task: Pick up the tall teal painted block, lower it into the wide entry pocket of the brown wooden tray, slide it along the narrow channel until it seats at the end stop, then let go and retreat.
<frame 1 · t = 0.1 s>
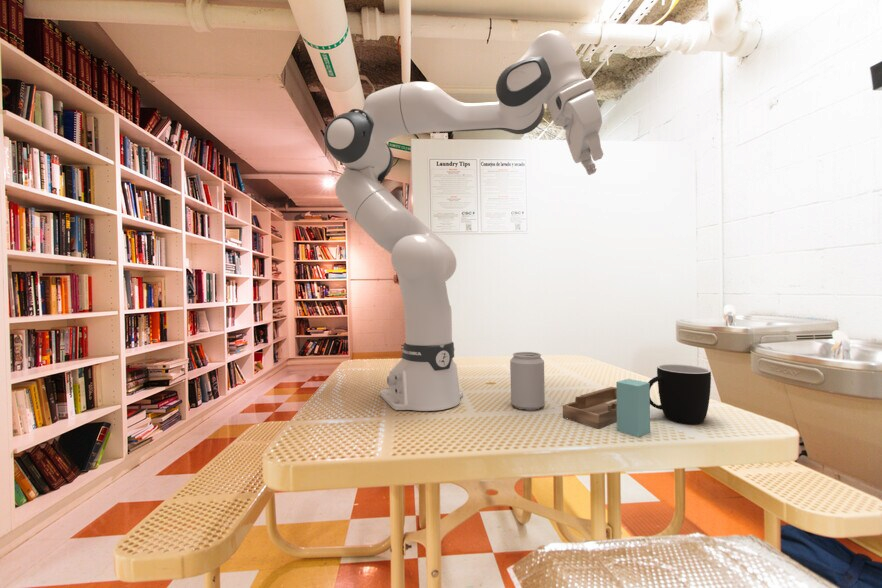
hand: (595, 166, 78), 52 cm above the table, tool tilted 20°, fingers open, 8 cm apart
brown wooden tray: (606, 413, 78), on the table
can: (527, 407, 84), on the table
block: (633, 431, 68), on the table
mug: (676, 420, 74), on the table
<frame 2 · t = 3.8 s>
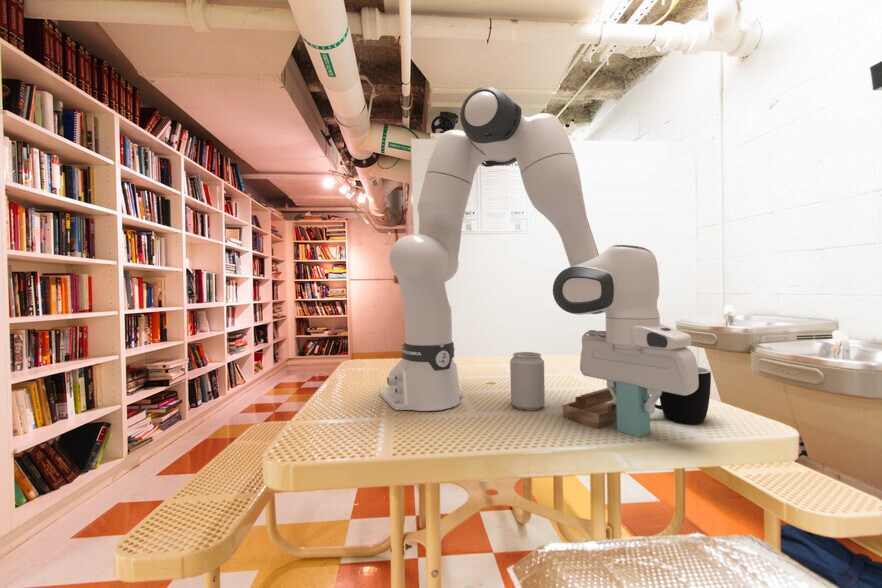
hand: (633, 408, 68), 4 cm above the table, tool pointing down, fingers closed on block, 4 cm apart
block: (633, 431, 68), on the table, touching gripper
everything else where it was.
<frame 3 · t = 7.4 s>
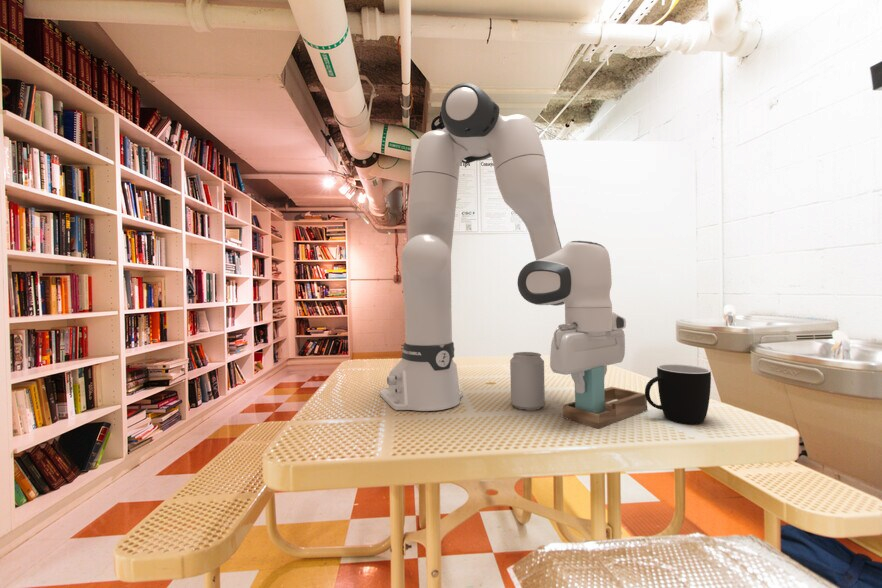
hand: (589, 390, 75), 6 cm above the table, tool pointing down, fingers closed on block, 4 cm apart
block: (589, 410, 75), point 2 cm above the table, touching gripper
everything else where it was.
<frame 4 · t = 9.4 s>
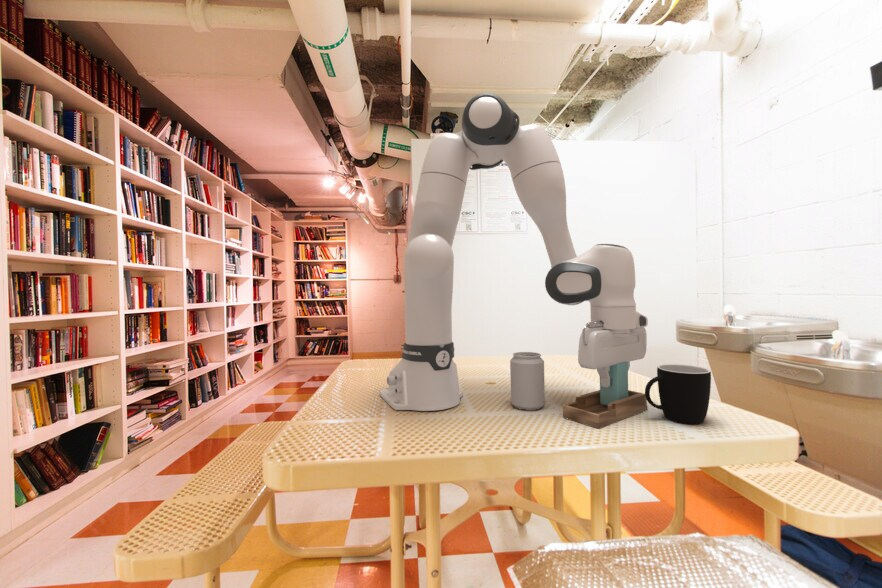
hand: (614, 384, 80), 6 cm above the table, tool pointing down, fingers closed on block, 4 cm apart
block: (614, 403, 80), point 2 cm above the table, touching gripper
everything else where it was.
when the fingers open (6 cm above the table, at t = 11.3 s): block stays where it is, resting on brown wooden tray.
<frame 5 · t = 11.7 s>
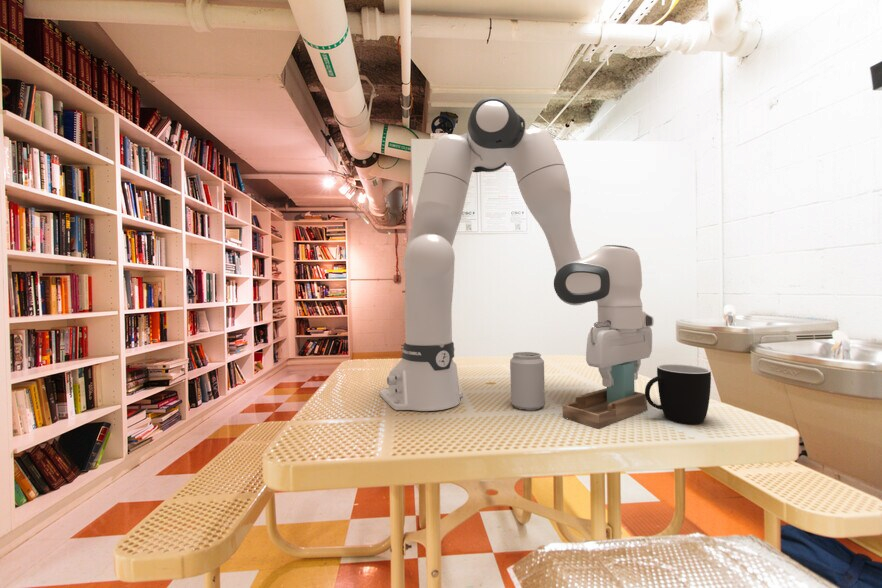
hand: (620, 382, 81), 6 cm above the table, tool pointing down, fingers open, 8 cm apart
block: (620, 403, 81), point 1 cm above the table, touching brown wooden tray
everything else where it was.
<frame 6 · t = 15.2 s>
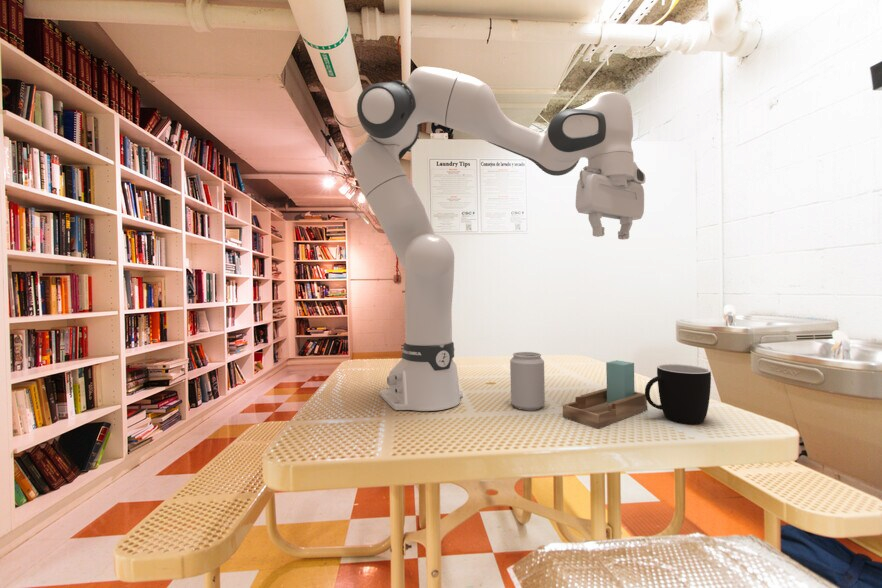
hand: (611, 237, 80), 37 cm above the table, tool pointing down, fingers open, 8 cm apart
nothing on the table moved.
at the end: block 0.2 cm from the target spot on the brown wooden tray, point 1.0 cm above the brown wooden tray's base; block tilted 0°; the gripper is holding nothing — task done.
